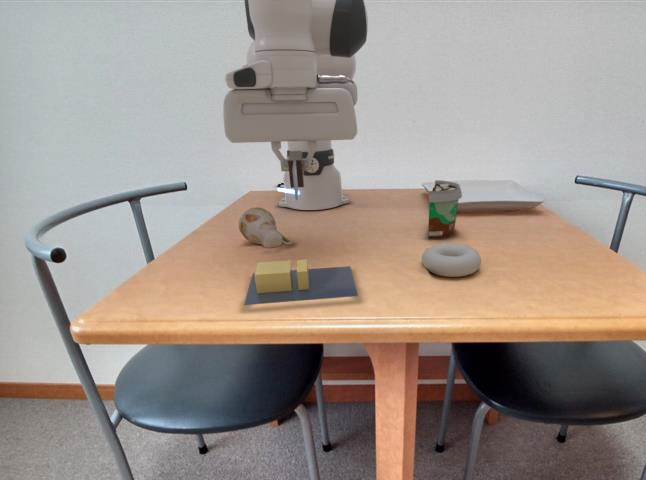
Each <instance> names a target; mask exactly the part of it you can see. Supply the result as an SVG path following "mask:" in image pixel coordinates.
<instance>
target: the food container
mask: <svg viewBox="0 0 646 480" xmlns="http://www.w3.org/2000/svg"><path fill="white" fill-rule="evenodd" d="M449 181H450V180H439V179H438V180H437V179H435V180H434V182H435V187H434V188H433V190H432V191H429V194H428V228H427V229H428V231H427V233H428V234H427V239H428V240H443V239H448V238H450V237H452V236H454V234H455V228H456V222H457V221H456V219H457V206H458V199H460V198H461V197H462V193H461V188H460V185H459V184H457V183H454V182H449Z"/></svg>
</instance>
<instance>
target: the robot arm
mask: <svg viewBox="0 0 646 480" xmlns="http://www.w3.org/2000/svg"><path fill="white" fill-rule="evenodd" d="M244 8H245V9H244V10H245V16H246V24H247V31H248V36H249V37H250V38H251V39H252V40H253V41H252V42H251V43H250V45H249V47H248V50H247V53H246V64H244V65H242V67H238V68H235V69H233V70H230V71H228V72H226V74H225V82H226V86H227V87H228V88H229V89H231V90H229V91H227V93H226V94H225V96H224V99H223V103H222V104H223V108H222V112H223V113H222V114H223V116H222V117H223V128H224V134H225V135H224V136H225V137H226V139H227V140H228V141H229V142H230V143H232V144H237V143H238V144H240V143H241V144H244V143H270V146H271V150H272V152H273V153H274V155H275V156H276V158H277V160H278V161H279V162H280V163H279V164H280V171H281V172H284V173H283V176H282V177H283V178H282V179H283V181H282V182H284V183H281V182H280V183H281V184H279V183H278V184H277V186H276V189H277V192H280V193H284V197H283V198H281V200H279V201H278V207H281V208H289V209H293V210H297V211H298V210H301V211H319V210H320V211H321V210H327V209H332V208H337V207H339V206H341V205H346V204H350V199H349V198H348V197H347V196H345V195H344V194H343V190H342V189H343V187H342V176H341V171H339V169H337V167H336V166H335V165H334V164H335V153H334V149H333V148H332V141H349V140H351V141H352V140H354V139H355V138H356V136H357V135H358V123H357V115H356V110H355V106H356V104H357V102H358V86H357V84H356V82H355V81H354V80H353V79H354V77H355V75H356V74H355V73H356V70H357V59H356V56H355V54H357V53H358V52H359V51H360V50H361V49H362V48H363V46H364V45H365V44H366V42H367V39H368V38H367V37H368V31H369V17H368V11H367V7H366V3H365V0H244ZM282 142H287V150H286V158H285V157H284V155H283V154H282V152H281V149H282ZM290 151H302V165H303V171H304V187H298V200H295V191H294V188H291V186H290V176H289V167H288V158H289V154H290ZM281 186H283V188H281Z"/></svg>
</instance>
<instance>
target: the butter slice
mask: <svg viewBox="0 0 646 480" xmlns="http://www.w3.org/2000/svg"><path fill="white" fill-rule="evenodd" d="M308 265H309V264H308V259H307V258H306V259H297V261H296V270H297V278H298V288H299V290H308V289H309V276H308V269H309V266H308Z"/></svg>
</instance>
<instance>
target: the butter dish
mask: <svg viewBox="0 0 646 480" xmlns="http://www.w3.org/2000/svg"><path fill="white" fill-rule="evenodd" d="M292 267H293V266H292V260H290V259H289V260H276V261H275V260H274V261H261V262H257V264H256V268H255V271H254V272H252V275H251V278H250V282H249V286H248V289H247V293H246V296H245V300H244V303H243V306H250V305H251V306H252V305H264V304H277V303H278V304H279V303H289V302H290V303H291V302H303V301H315V300H325V299H326V300H327V299H328V300H329V299H339V298H340V299H341V298H352V297H359V295H358V290H357V286H356V283H355V278H354V276H353V271H352V267H351V266H350V265H349V266H335V267H333V266H332V267H320V268H308V276H309V289H308V290H299V288H298V278H297V269H292Z"/></svg>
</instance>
